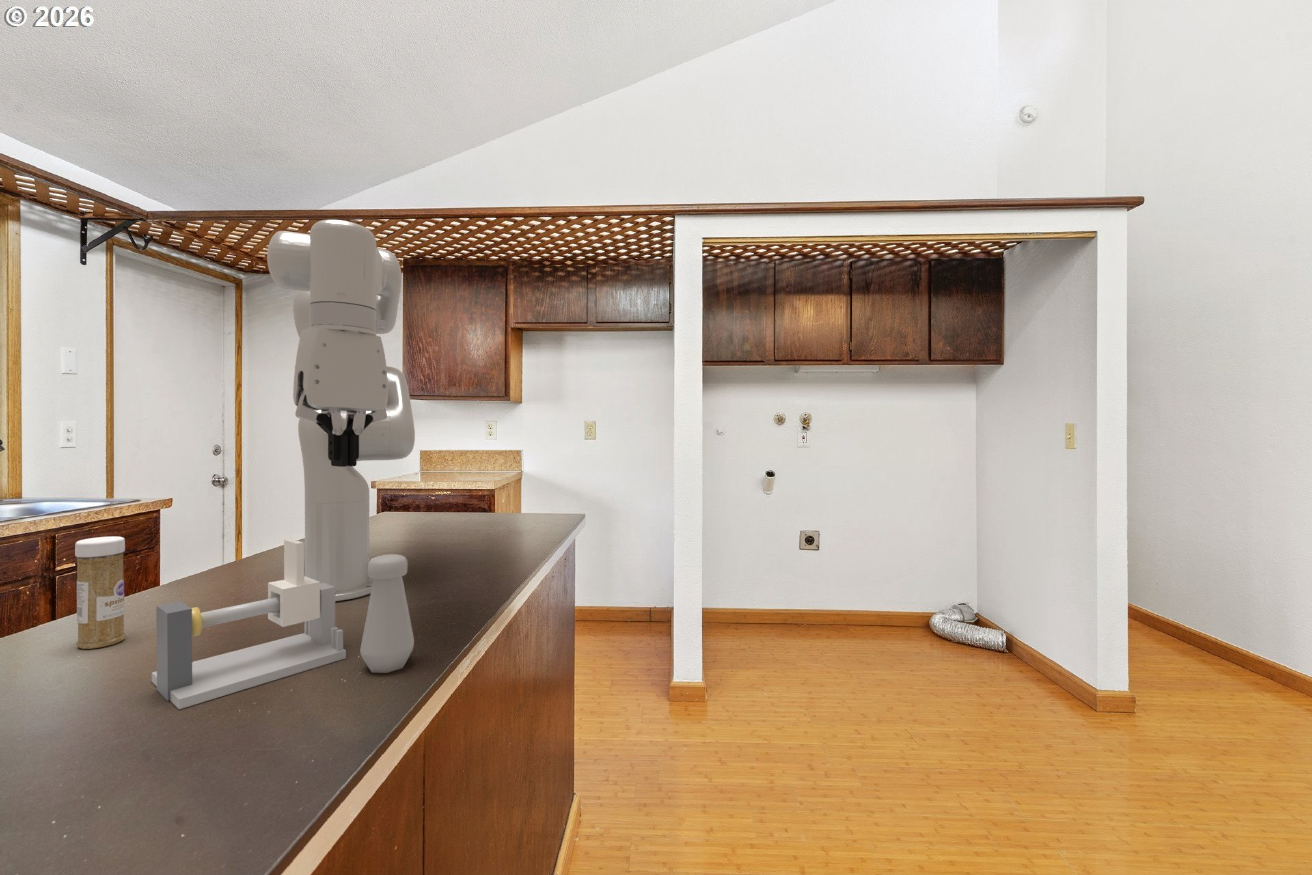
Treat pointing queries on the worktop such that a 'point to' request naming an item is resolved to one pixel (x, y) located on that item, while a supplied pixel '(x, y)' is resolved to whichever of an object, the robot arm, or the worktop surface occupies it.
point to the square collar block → (294, 589)
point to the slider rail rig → (244, 666)
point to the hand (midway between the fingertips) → (343, 465)
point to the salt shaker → (387, 616)
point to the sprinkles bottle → (100, 591)
